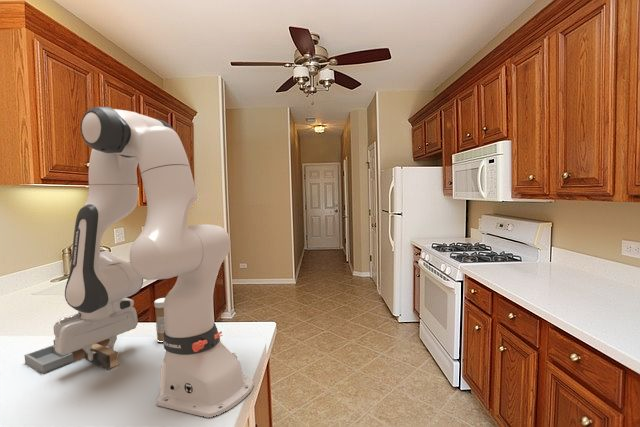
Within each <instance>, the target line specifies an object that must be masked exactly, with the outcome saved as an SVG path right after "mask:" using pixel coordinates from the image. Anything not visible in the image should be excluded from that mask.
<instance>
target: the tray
mask: <svg viewBox="0 0 640 427" xmlns="http://www.w3.org/2000/svg"><path fill="white" fill-rule="evenodd" d="M72 363H75V362H74V361H73V354H72V353H69V354H66V355H61V354H59V353H57V352H56V351H55V345H54V344H52V345H50V346H47V347H45V348H41V349H38V350H35V351H33V352H30V353H26V354H24V364H25V365H27V366H28V367H31V368H32V369H34V370H35V371H37V372H39V373H41V374H42V375H45V374H48V373H50V372H53V371H55V370H57V369H60V368H63V367H66V366H68V365H70V364H72Z"/></svg>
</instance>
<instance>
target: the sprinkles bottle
mask: <svg viewBox="0 0 640 427" xmlns="http://www.w3.org/2000/svg"><path fill="white" fill-rule="evenodd" d="M164 300H165V297H161V298H157V299H155V300H154V302H153V304H154V308H155V327H156V328H155V329H156V338H157V339H156V341H157V340H159V341H163V337H164V331H165V320H164Z"/></svg>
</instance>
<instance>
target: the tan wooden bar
mask: <svg viewBox="0 0 640 427" xmlns="http://www.w3.org/2000/svg"><path fill="white" fill-rule="evenodd" d="M90 351H91V352H93V351H94V352H96V353H97V355H96V356H97V358H96V359H94V360H91V361H90V360H89V359H88V354H87V353H86V352H85V358H84V359H85V360H86V361H88V362H90V363H92V364H95V365H96V366H99V367H102V368H103V369H105V370H109V369H112V368H115V367H116V366H118V365H119V363H120V361H119V352H118V351H116V350H111V349H109V348H106V347H104V346H101V345H99V344H96V343H95V344H93V345H92V348H91V349H90Z"/></svg>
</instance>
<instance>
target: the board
mask: <svg viewBox="0 0 640 427" xmlns="http://www.w3.org/2000/svg"><path fill="white" fill-rule="evenodd" d="M109 341H110V339H106V340H103V341H100V342H98V343H96V344H99V345H101V346H104V347H105V346H108V343H109ZM53 345H55V339H53ZM71 353H72V354H73V361H74V362H73V363H76V362H78V361H81V360H83V359H85V351H84V350H83V349H79V350H77V351H74V352H71Z"/></svg>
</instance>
